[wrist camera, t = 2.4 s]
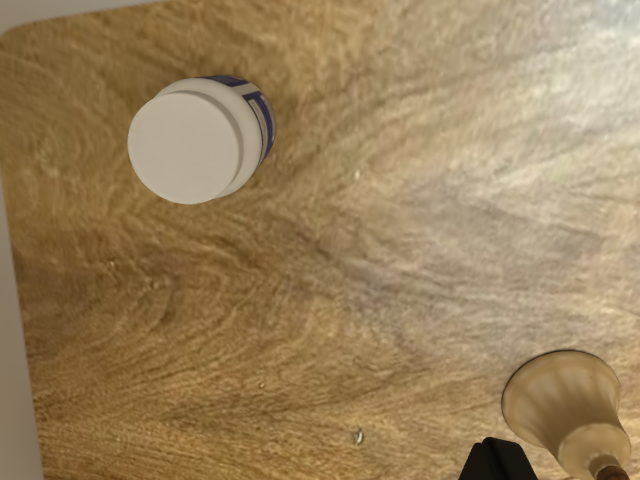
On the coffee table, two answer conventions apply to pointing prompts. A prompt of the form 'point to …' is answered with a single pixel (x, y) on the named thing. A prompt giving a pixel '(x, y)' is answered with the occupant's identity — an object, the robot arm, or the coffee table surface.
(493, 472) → the robot arm
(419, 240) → the coffee table surface
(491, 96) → the coffee table surface
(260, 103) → the pill bottle
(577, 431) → the hand bell
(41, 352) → the coffee table surface
